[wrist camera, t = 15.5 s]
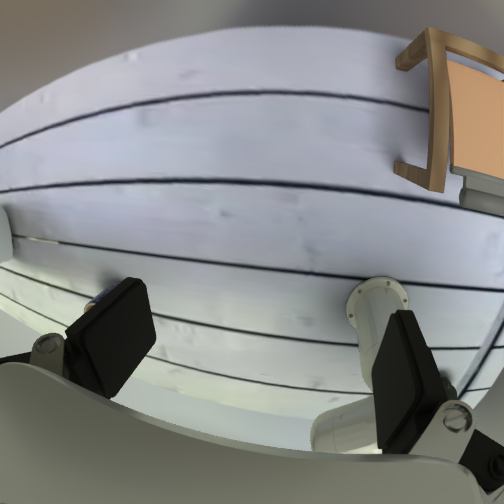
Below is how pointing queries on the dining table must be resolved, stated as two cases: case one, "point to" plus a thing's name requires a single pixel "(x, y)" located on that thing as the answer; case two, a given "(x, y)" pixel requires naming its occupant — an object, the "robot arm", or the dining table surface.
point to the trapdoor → (477, 137)
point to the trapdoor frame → (438, 98)
